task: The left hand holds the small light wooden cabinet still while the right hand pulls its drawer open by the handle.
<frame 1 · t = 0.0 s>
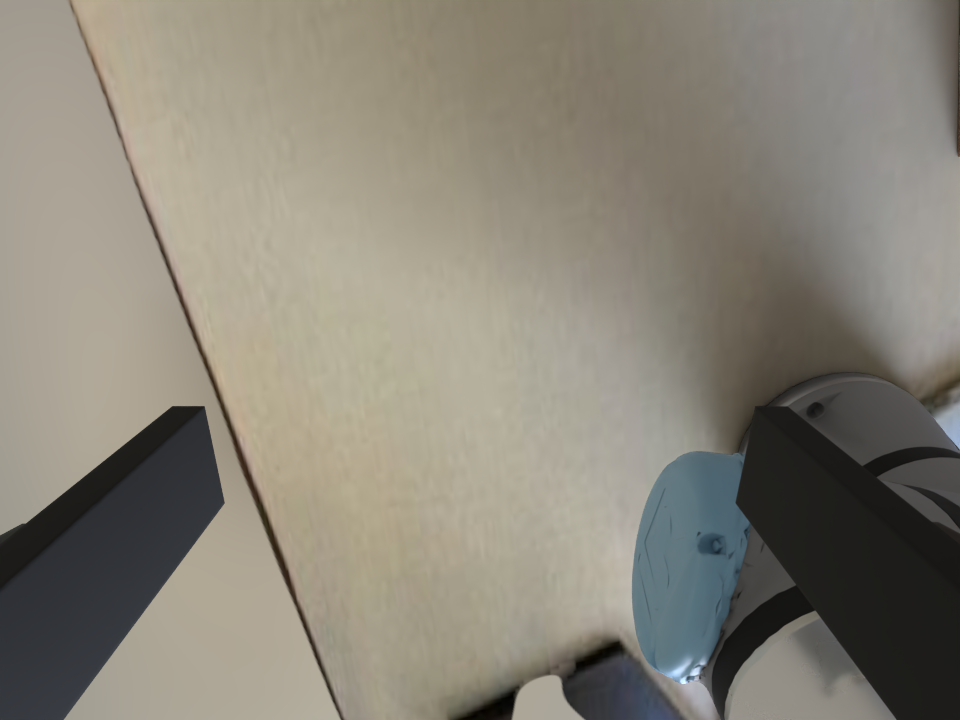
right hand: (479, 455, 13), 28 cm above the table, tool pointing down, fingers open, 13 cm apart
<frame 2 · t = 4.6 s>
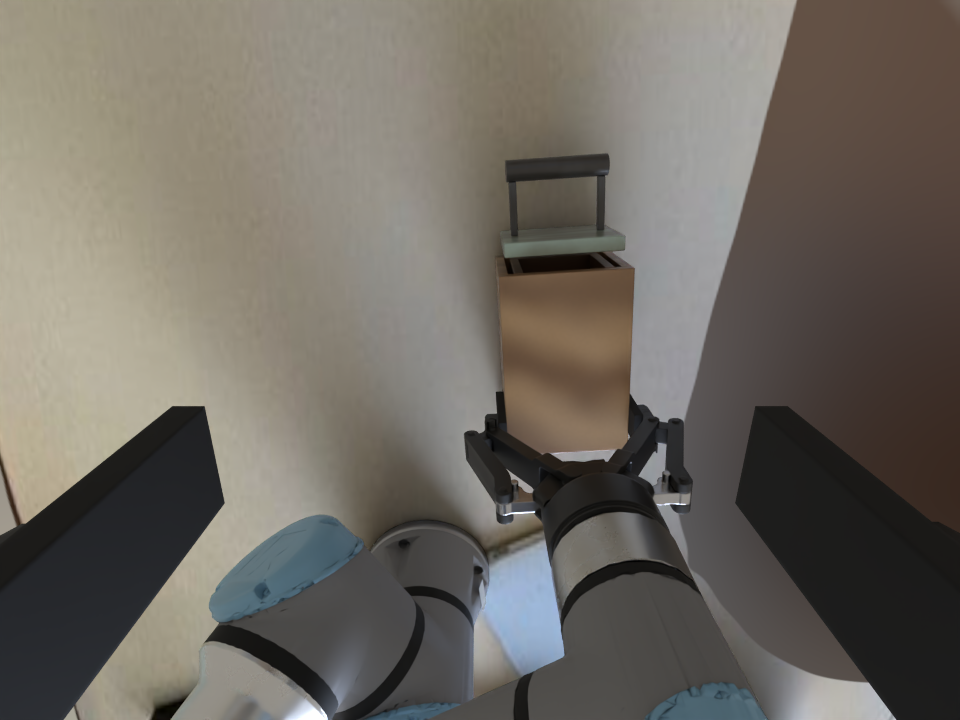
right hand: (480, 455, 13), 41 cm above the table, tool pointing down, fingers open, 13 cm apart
left hand: (559, 400, 52), fingers closed on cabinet, 11 cm apart
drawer: (558, 285, 48), point 5 cm above the table, slide at 1.3 cm
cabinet: (552, 333, 55), on the table, touching left hand
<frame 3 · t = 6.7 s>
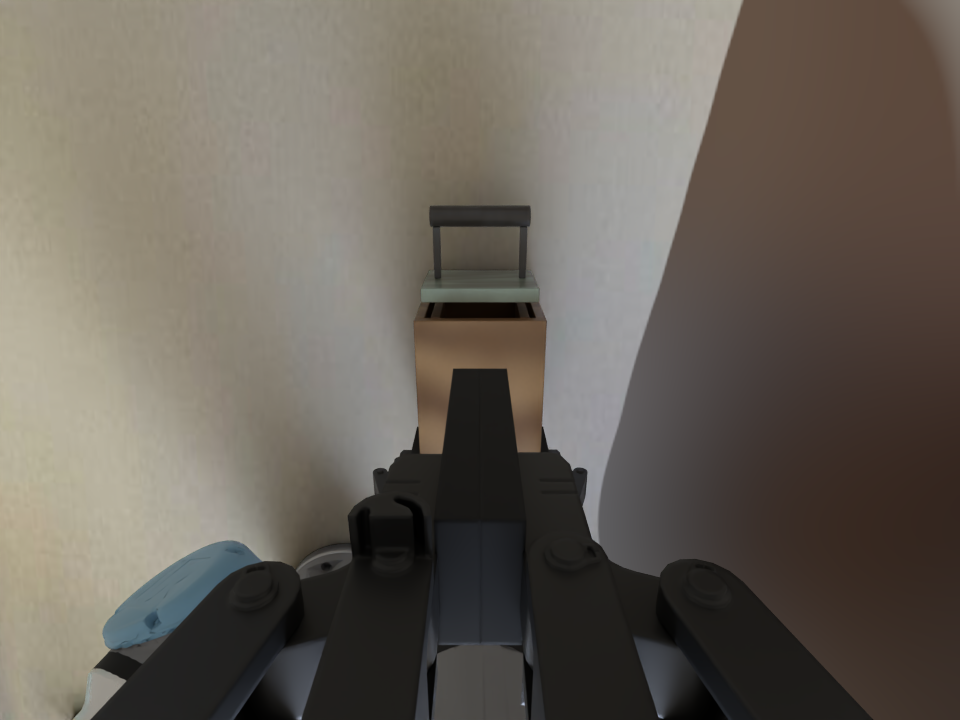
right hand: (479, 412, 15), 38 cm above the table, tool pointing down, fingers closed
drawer: (480, 328, 49), point 5 cm above the table, slide at 1.3 cm
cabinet: (480, 371, 55), on the table, touching left hand
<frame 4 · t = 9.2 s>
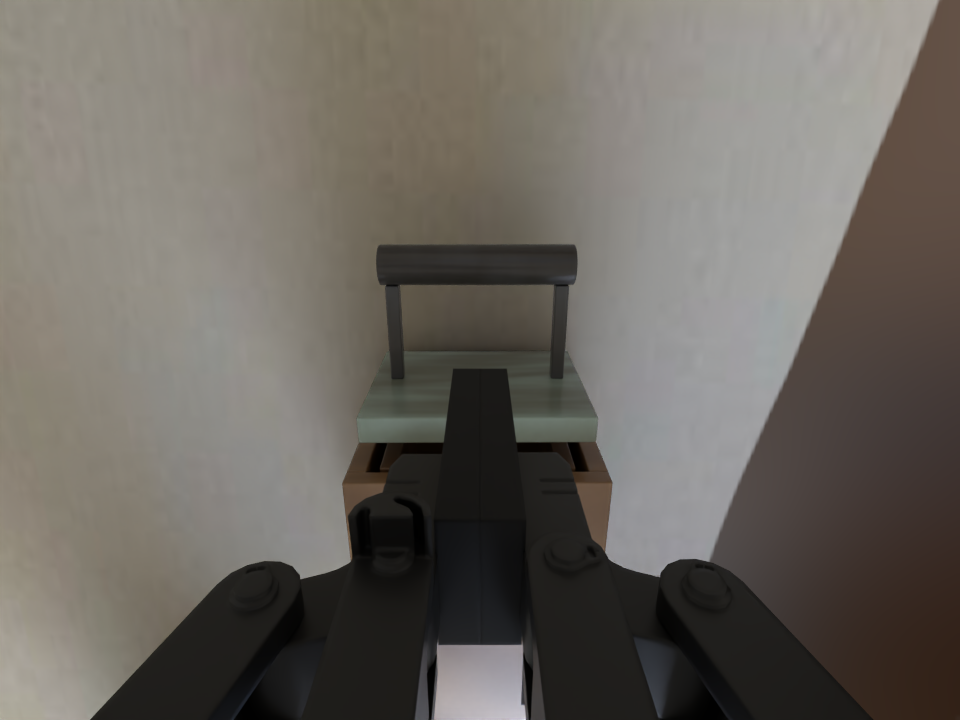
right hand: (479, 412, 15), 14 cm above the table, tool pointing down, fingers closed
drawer: (477, 464, 27), point 5 cm above the table, slide at 1.3 cm
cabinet: (477, 506, 33), on the table, touching left hand
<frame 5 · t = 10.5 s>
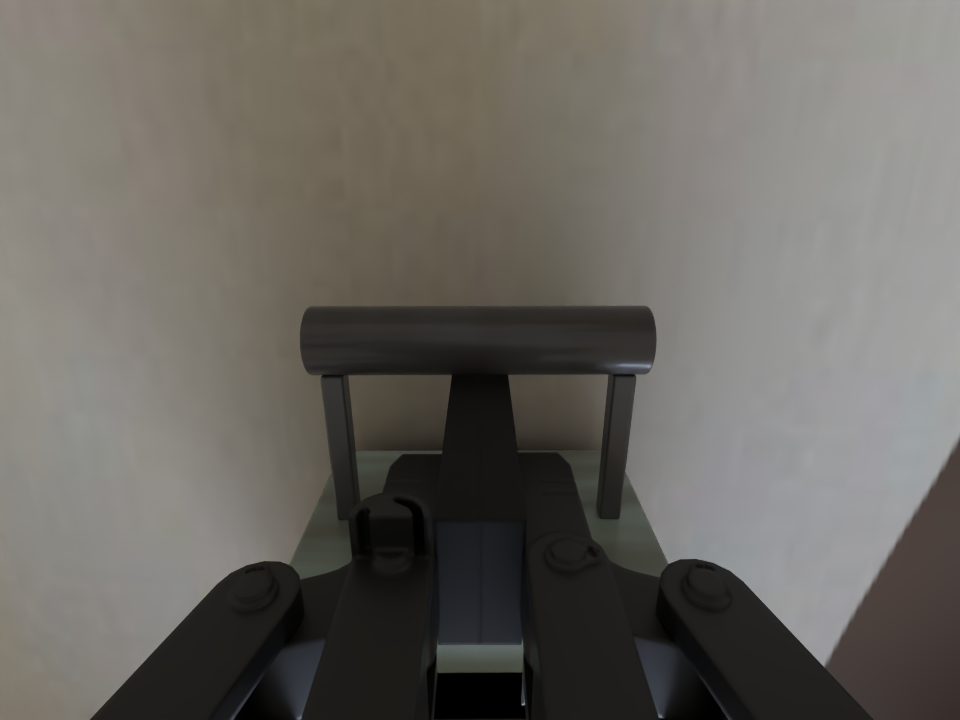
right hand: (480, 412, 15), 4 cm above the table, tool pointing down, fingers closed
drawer: (479, 640, 17), point 5 cm above the table, slide at 1.3 cm, touching right hand
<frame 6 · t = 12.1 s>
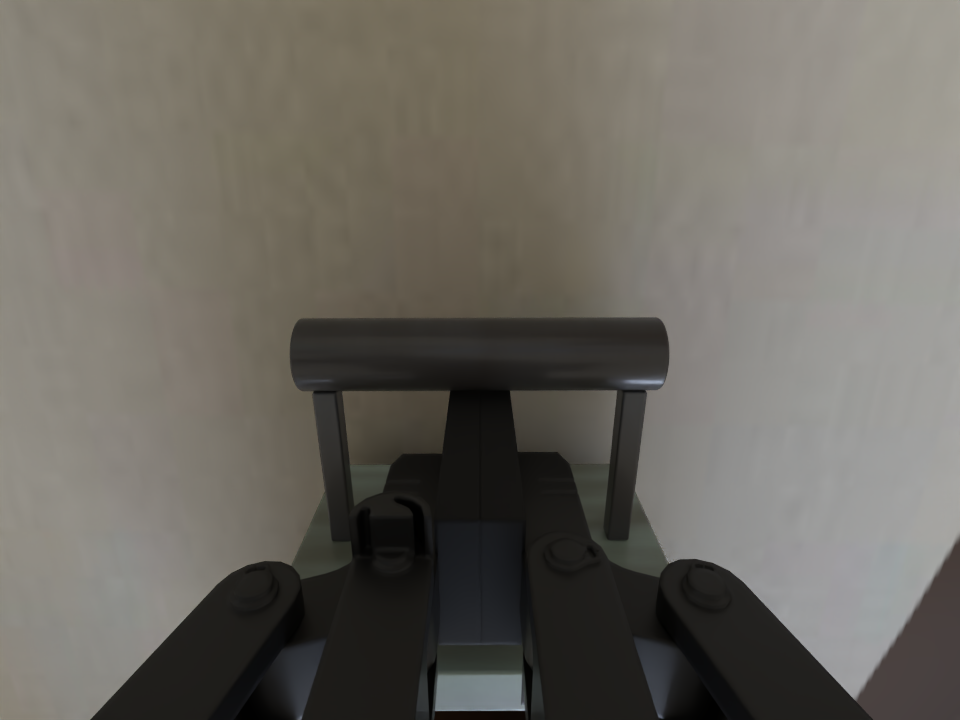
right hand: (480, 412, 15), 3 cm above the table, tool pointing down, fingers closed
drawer: (480, 664, 16), point 5 cm above the table, slide at 8.2 cm, touching right hand
when the left hand's fingers open (5 cm above the table, at t = 13.9 s): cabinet stays where it is, on the table.
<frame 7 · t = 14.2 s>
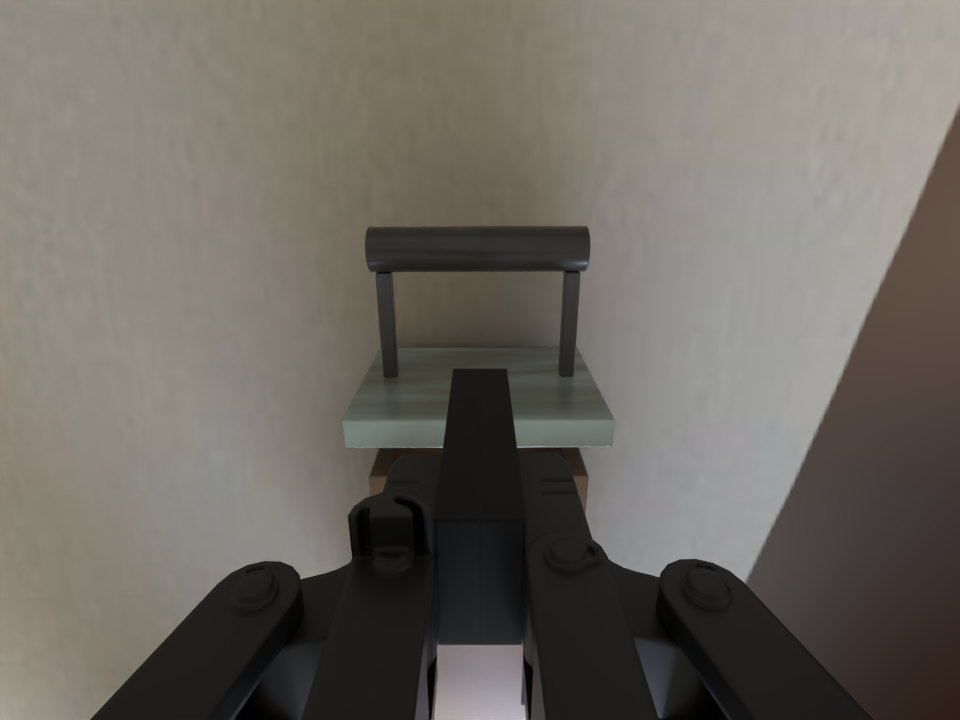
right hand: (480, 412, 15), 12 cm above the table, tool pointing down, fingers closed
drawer: (478, 471, 24), point 5 cm above the table, slide at 8.4 cm
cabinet: (479, 608, 33), on the table
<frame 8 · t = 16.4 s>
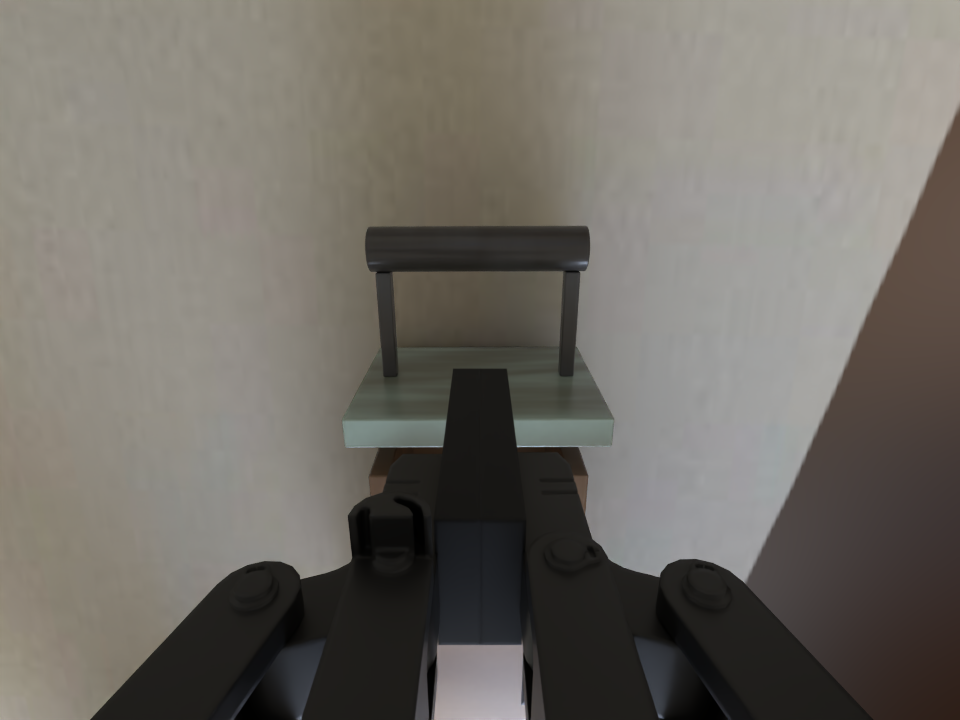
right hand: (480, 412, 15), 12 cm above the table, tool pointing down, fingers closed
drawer: (478, 471, 24), point 5 cm above the table, slide at 8.4 cm
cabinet: (479, 608, 33), on the table
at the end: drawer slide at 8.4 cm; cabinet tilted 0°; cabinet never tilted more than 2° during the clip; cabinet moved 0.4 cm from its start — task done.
